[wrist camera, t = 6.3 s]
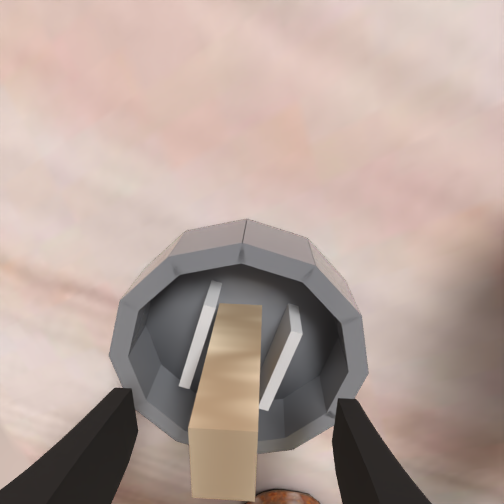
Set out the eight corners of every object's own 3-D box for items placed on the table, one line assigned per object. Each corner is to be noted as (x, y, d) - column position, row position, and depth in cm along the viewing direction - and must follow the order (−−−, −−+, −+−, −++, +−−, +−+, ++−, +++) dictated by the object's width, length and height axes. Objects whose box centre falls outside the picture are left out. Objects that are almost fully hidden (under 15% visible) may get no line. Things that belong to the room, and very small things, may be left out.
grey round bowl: (387, 263, 16) (412, 295, 13) (304, 425, 20) (310, 476, 17) (161, 191, 15) (137, 209, 13) (120, 375, 19) (95, 420, 16)
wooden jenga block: (262, 305, 17) (257, 431, 10) (259, 357, 18) (254, 501, 11) (219, 302, 17) (187, 427, 10) (220, 355, 18) (191, 497, 11)
